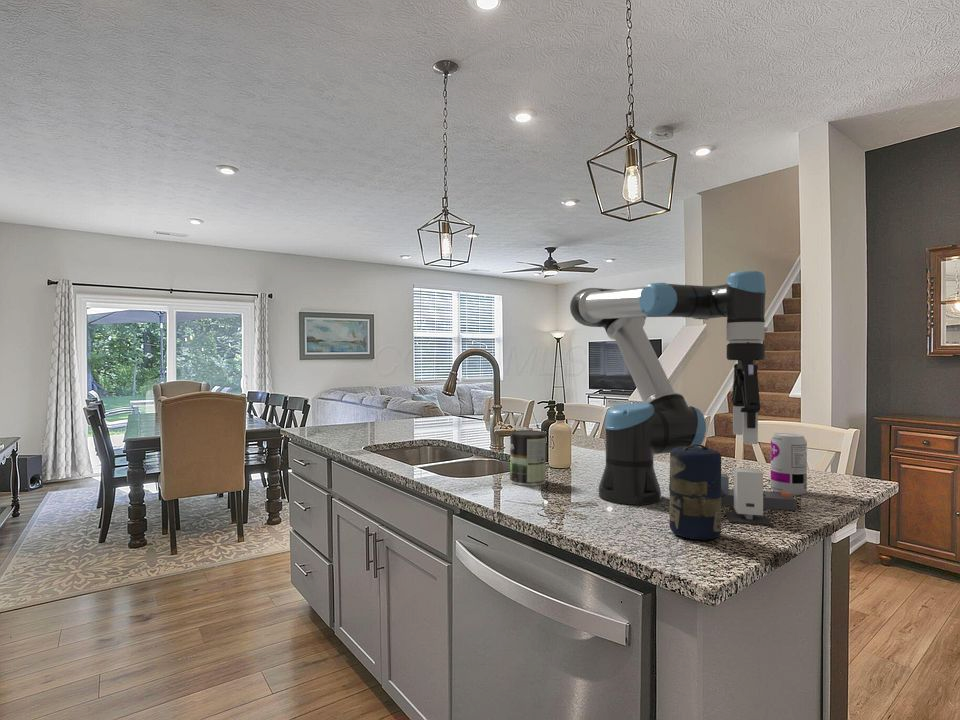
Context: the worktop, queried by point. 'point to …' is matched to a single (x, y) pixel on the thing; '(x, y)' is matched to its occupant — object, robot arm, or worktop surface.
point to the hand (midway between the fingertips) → (744, 439)
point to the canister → (695, 492)
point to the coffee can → (527, 457)
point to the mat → (741, 519)
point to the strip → (770, 499)
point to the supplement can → (789, 463)
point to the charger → (748, 492)
